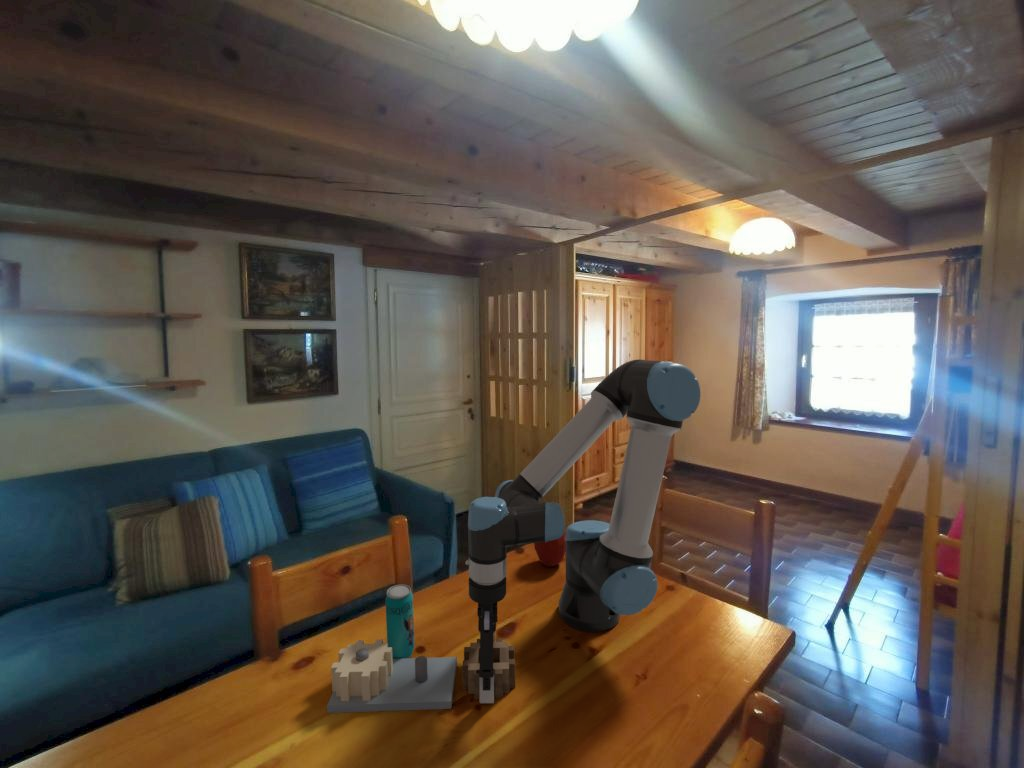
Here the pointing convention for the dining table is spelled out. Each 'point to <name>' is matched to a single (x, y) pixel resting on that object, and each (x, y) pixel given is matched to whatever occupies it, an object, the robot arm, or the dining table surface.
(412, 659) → the gear board
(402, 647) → the beverage can
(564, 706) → the dining table surface
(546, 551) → the apple
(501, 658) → the walnut gear
